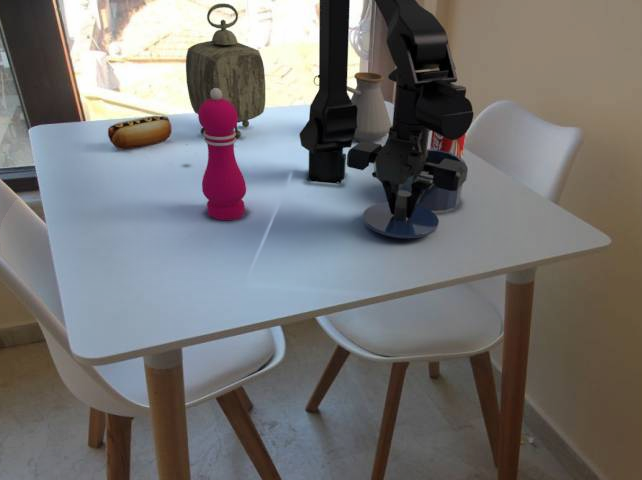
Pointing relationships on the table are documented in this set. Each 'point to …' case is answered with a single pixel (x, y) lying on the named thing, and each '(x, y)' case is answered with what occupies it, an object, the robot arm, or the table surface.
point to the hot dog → (139, 132)
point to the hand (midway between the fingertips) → (401, 215)
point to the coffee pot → (369, 107)
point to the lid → (400, 218)
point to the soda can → (448, 144)
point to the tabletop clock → (226, 72)
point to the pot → (435, 196)
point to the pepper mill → (221, 159)
